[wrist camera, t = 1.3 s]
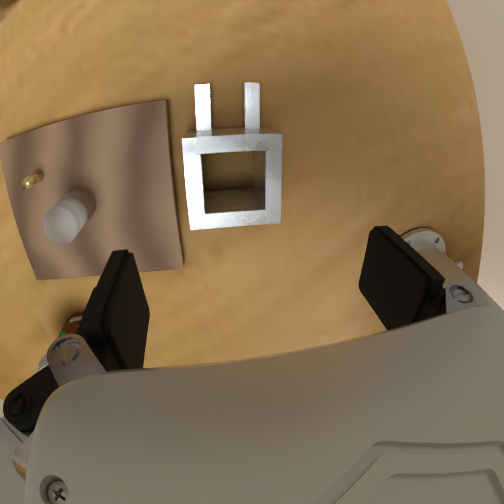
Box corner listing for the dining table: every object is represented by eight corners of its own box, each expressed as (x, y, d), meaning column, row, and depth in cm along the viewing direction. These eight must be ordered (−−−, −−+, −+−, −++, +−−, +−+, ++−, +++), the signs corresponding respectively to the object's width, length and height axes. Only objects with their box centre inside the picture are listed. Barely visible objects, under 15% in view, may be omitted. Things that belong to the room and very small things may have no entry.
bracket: (266, 199, 27) (280, 222, 22) (192, 204, 26) (190, 230, 22) (266, 83, 22) (282, 79, 17) (184, 86, 21) (179, 83, 16)
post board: (167, 99, 21) (155, 99, 15) (184, 260, 29) (181, 300, 24) (6, 140, 19) (-32, 156, 13) (42, 272, 27) (19, 307, 21)
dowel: (42, 168, 20) (29, 176, 18) (44, 180, 21) (32, 189, 19) (33, 171, 20) (20, 179, 18) (35, 182, 20) (22, 191, 18)
